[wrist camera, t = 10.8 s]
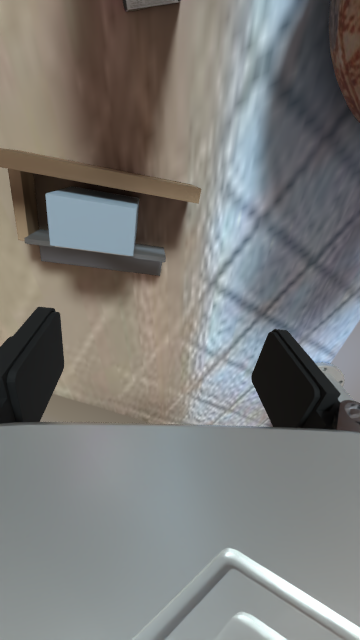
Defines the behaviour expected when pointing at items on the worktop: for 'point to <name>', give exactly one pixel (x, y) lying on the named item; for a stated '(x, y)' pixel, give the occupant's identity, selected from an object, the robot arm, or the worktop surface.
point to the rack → (29, 163)
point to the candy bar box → (145, 3)
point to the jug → (346, 49)
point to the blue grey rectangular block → (92, 220)
